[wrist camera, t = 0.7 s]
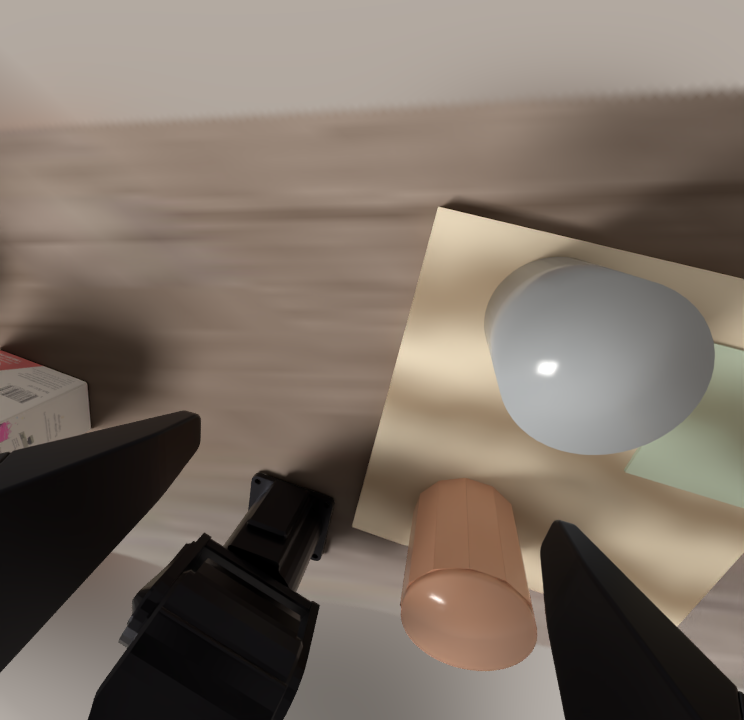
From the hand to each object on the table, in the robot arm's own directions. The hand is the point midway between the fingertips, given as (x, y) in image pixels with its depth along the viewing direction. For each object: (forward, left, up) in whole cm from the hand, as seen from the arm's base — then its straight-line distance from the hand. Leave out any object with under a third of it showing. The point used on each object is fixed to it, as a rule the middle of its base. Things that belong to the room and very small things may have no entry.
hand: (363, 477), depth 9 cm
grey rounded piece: (+3, -6, -12) cm, 14 cm away
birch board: (-4, -10, -13) cm, 18 cm away
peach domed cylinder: (-11, -6, -12) cm, 18 cm away
